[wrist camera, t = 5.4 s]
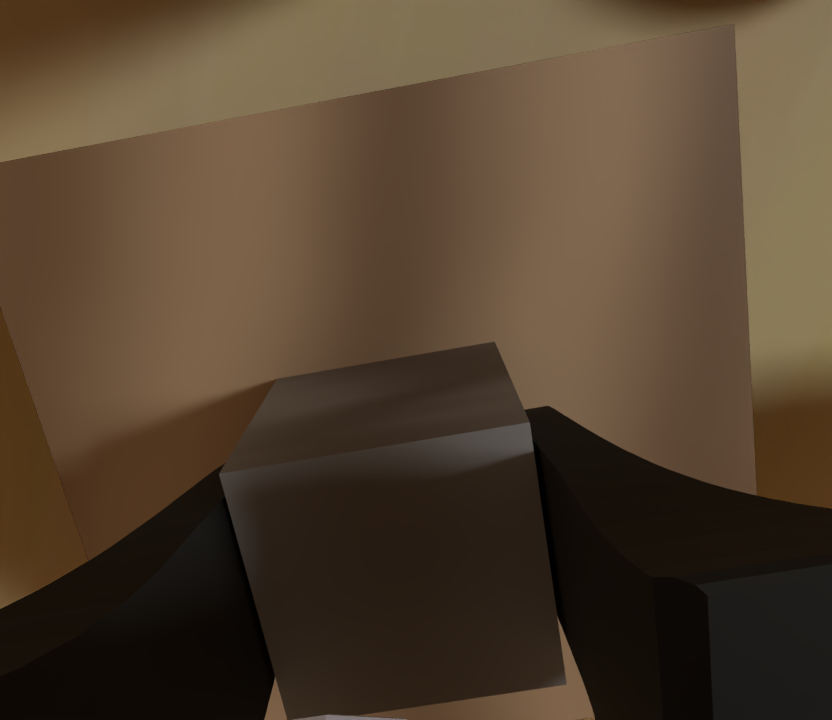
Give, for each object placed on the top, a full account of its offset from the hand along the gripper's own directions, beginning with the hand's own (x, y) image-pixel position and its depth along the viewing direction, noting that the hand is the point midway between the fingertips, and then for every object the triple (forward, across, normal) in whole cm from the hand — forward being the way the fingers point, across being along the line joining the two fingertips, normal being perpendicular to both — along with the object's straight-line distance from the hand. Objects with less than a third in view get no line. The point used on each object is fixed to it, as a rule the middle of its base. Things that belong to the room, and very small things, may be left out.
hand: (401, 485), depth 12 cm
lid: (+3, 0, 0) cm, 3 cm away
